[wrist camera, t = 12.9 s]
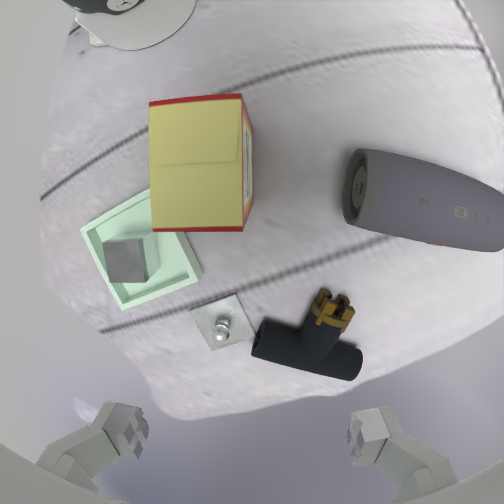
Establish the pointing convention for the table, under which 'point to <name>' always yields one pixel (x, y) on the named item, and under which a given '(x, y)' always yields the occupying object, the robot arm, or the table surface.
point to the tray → (169, 244)
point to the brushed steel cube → (132, 256)
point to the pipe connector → (313, 341)
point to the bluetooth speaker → (422, 202)
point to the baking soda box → (200, 164)
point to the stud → (223, 322)
